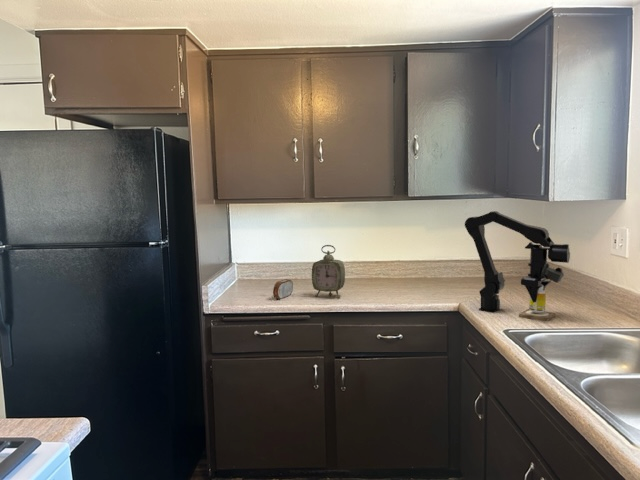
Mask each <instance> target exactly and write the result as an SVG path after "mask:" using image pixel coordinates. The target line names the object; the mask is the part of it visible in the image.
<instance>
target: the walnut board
mask: <svg viewBox="0 0 640 480" xmlns="http://www.w3.org/2000/svg"><path fill="white" fill-rule="evenodd" d="M518 317H519V318H524V319H530V320H535V321H541V322H548V321H549V320H551V319H553V318H554V317H556V312H551V311H546V310H545V311H544V312H532V311H530V310H529V308H527V309H526V310H523V311H522V312H520V313H518Z"/></svg>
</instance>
